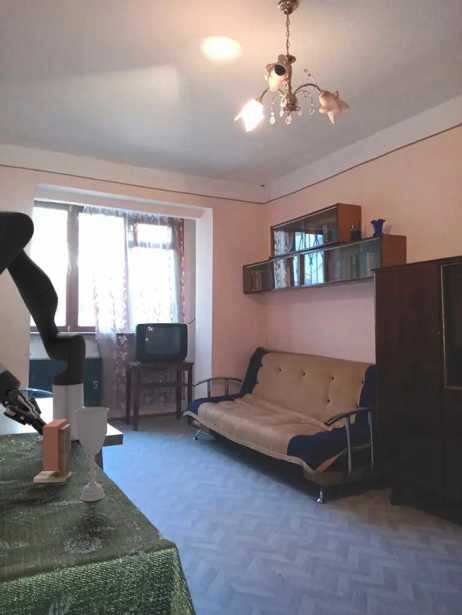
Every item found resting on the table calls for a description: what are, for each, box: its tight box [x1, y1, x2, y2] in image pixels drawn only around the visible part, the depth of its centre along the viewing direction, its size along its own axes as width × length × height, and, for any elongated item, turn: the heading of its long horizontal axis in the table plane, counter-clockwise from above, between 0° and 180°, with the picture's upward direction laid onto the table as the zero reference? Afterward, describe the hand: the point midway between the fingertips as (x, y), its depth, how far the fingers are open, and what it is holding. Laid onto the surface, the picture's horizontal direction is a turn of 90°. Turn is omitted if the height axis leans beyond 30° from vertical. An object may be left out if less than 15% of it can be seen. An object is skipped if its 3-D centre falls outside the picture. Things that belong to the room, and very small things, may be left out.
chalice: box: [74, 406, 110, 502], centre depth 97 cm, size 7×7×18 cm
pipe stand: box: [32, 424, 72, 484], centre depth 108 cm, size 5×7×12 cm
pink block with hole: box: [42, 419, 68, 471], centre depth 108 cm, size 8×3×10 cm, turn 2°
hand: (46, 432), depth 108 cm, fingers closed
